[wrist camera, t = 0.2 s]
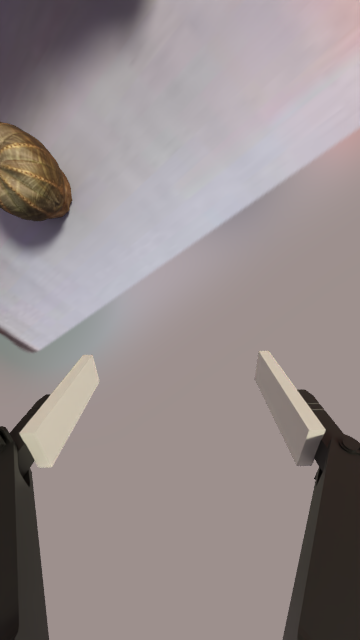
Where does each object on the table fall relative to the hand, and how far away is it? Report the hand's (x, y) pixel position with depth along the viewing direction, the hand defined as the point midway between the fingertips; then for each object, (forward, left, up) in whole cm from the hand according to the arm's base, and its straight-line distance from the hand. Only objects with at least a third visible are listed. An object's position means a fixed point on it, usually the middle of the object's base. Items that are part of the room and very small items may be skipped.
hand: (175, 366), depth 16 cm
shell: (-18, -22, -28) cm, 40 cm away
